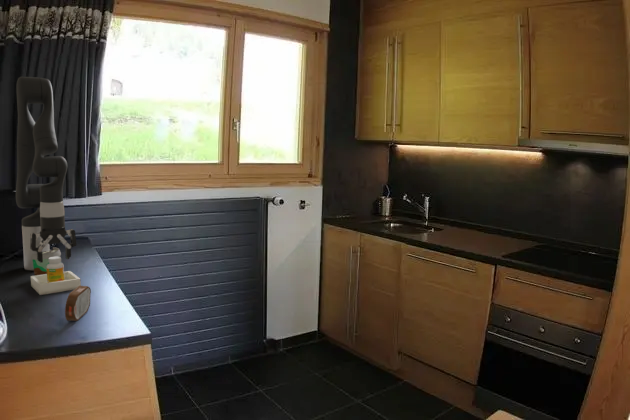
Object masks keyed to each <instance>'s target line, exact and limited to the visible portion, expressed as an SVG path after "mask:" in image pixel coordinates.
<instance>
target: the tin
mask: <svg viewBox="0 0 630 420" xmlns="http://www.w3.org/2000/svg"><path fill="white" fill-rule="evenodd" d="M91 293H92V291H91V288H90V286H88V285H87V286H86V285H82V284H81V285H80V286H79V287H77V288H76V289H75V290H71V292H70V293H69V294H68V296H67V298H66V301H65V302H66V303H65V308H64V314H65V315H64V316H65V319H66V321H68V322H69V321H70V322H73V321H74V322H78V321H79V320H80V319H81V318H82V317H83V316H85V315H86V314H87V312H88V311H89V310H90V305H91Z"/></svg>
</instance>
